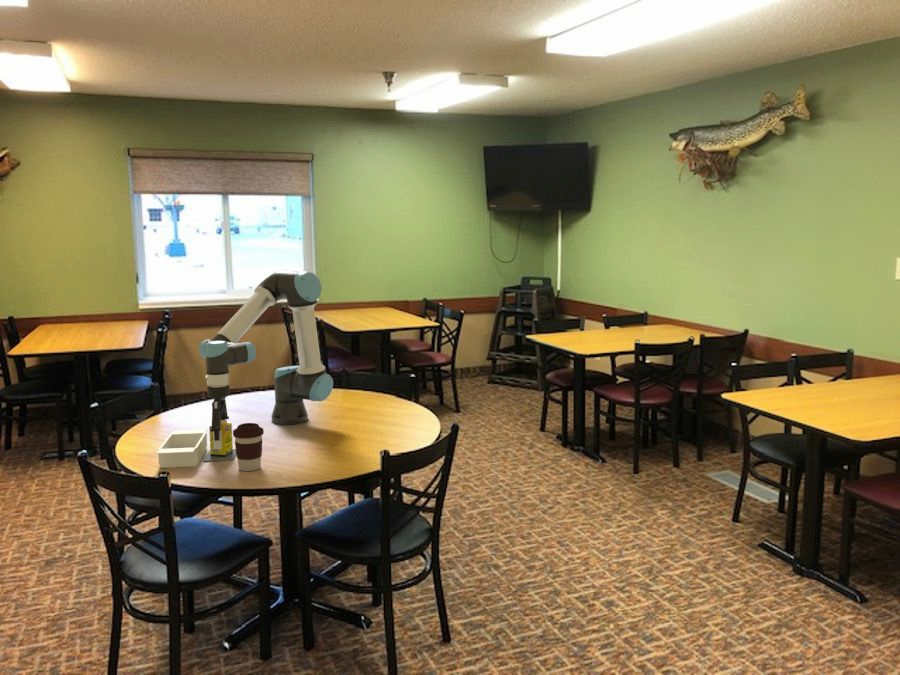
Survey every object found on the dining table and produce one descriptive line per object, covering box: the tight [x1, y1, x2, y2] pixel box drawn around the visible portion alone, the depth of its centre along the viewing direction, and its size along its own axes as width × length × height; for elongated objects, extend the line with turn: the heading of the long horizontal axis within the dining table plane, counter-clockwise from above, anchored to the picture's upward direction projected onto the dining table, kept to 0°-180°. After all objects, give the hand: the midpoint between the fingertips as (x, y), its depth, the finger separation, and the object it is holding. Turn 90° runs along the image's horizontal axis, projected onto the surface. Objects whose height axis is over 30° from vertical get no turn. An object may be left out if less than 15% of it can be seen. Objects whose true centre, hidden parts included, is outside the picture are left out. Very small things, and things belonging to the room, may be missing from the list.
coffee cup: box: [232, 422, 265, 472], centre depth 235 cm, size 10×10×15 cm
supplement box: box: [209, 422, 234, 457], centre depth 248 cm, size 6×6×11 cm
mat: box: [203, 448, 237, 463], centre depth 249 cm, size 10×12×1 cm
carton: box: [156, 428, 208, 469], centre depth 245 cm, size 13×27×6 cm, turn 10°
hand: (220, 443), depth 248 cm, fingers open, 13 cm apart
